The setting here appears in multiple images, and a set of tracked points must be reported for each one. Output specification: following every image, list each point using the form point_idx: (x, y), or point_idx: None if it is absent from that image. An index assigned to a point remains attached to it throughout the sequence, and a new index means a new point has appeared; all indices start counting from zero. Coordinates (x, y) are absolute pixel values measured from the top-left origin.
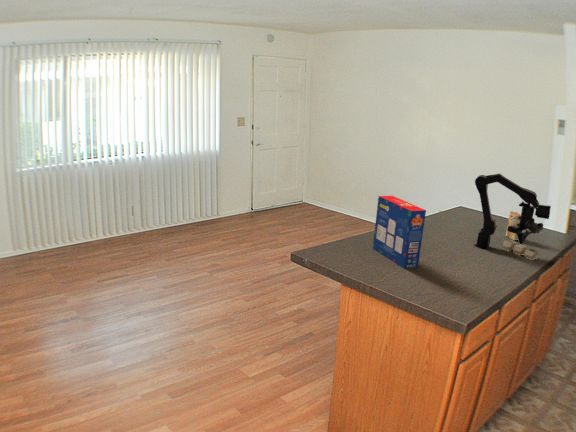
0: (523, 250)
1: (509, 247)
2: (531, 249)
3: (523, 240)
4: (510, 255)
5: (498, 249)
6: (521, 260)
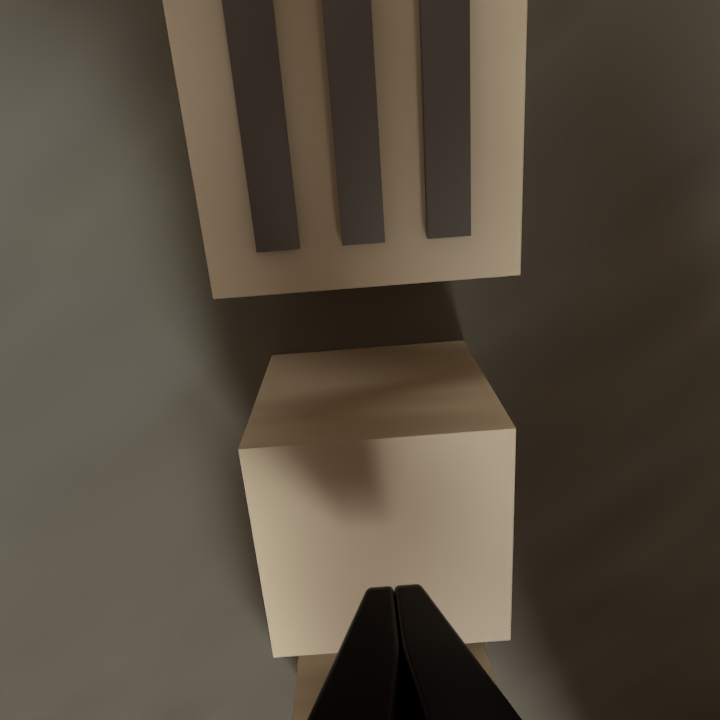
0: (391, 396)
1: (483, 651)
2: (294, 221)
3: (400, 696)
4: (647, 407)
5: (570, 683)
6: (713, 75)
